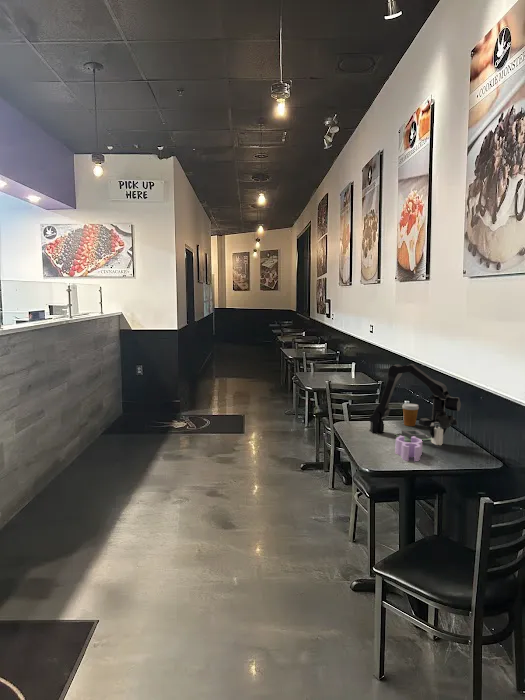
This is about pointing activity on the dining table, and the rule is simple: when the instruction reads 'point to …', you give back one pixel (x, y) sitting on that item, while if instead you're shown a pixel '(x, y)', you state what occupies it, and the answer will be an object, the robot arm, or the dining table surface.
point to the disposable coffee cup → (410, 414)
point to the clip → (409, 448)
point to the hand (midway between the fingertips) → (437, 437)
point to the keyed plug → (437, 436)
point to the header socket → (413, 434)
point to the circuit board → (410, 439)
